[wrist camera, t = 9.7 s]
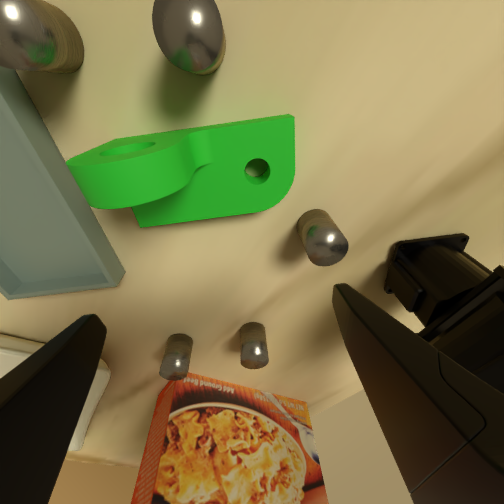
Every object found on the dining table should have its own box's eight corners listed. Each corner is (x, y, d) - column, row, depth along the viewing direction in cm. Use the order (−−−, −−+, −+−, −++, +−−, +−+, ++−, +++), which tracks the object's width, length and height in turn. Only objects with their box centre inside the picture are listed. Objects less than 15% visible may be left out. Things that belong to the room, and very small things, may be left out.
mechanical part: (148, 216, 20) (105, 279, 13) (116, 138, 17) (37, 172, 10) (290, 196, 20) (318, 252, 13) (288, 113, 16) (323, 132, 10)
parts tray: (8, 59, 14) (-23, 55, 12) (125, 271, 23) (116, 286, 21) (-157, 83, 14) (-209, 83, 12) (24, 284, 23) (8, 299, 21)
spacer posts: (352, -47, 12) (395, -97, 9) (321, 332, 30) (332, 362, 26) (-9, 9, 13) (-96, -19, 9) (172, 349, 30) (164, 381, 27)
